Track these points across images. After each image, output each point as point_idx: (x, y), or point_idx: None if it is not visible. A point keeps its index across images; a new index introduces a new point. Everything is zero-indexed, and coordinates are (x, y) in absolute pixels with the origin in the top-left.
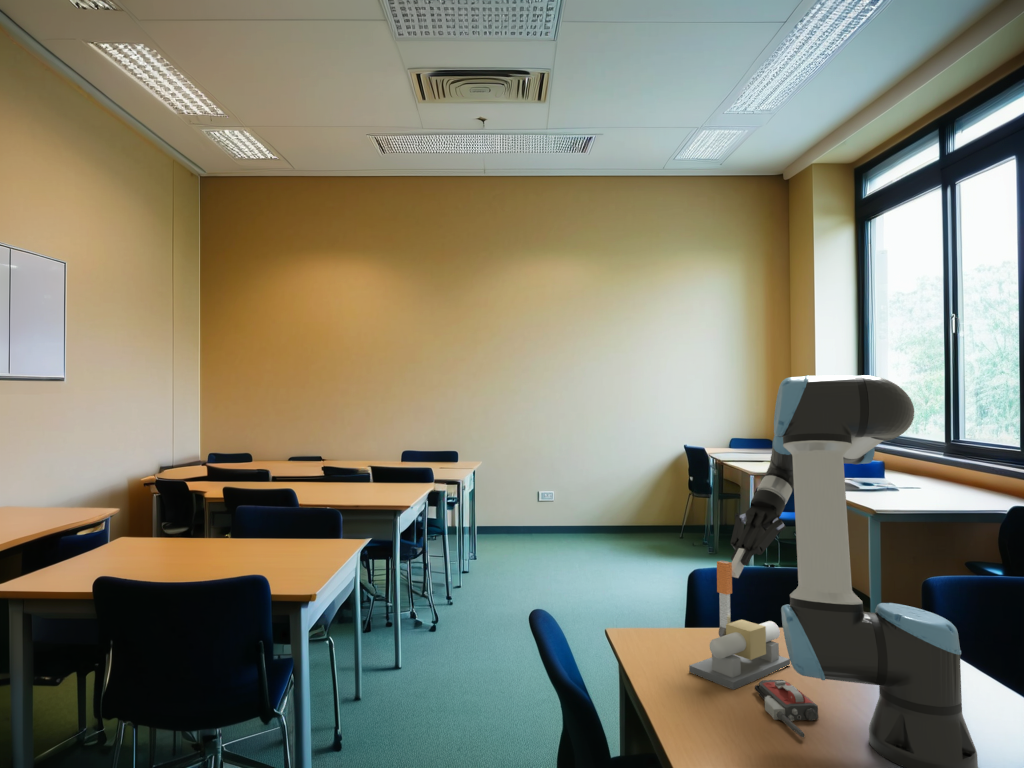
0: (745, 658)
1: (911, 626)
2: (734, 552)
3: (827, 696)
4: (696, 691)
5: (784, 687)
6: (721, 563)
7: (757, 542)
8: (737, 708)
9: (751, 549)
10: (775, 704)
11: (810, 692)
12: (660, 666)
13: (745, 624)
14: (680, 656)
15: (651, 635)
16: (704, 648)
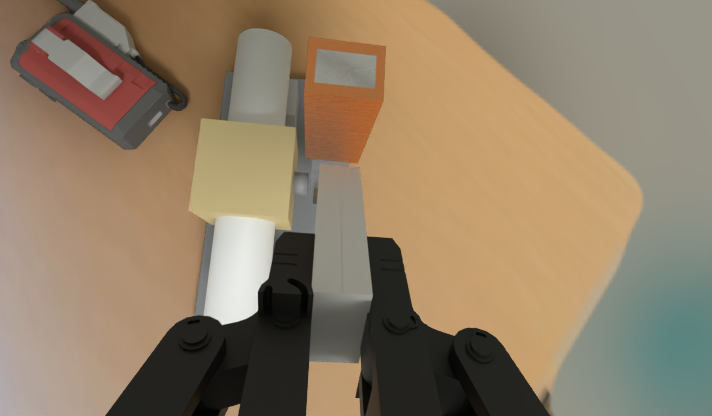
0: (281, 232)
1: None
2: (402, 285)
3: (50, 208)
4: (280, 18)
5: (77, 46)
6: (348, 45)
7: (181, 394)
8: (179, 7)
9: (251, 327)
10: (96, 21)
11: (90, 199)
12: (411, 74)
13: (248, 174)
14: (421, 161)
15: (562, 232)
16: (418, 259)
